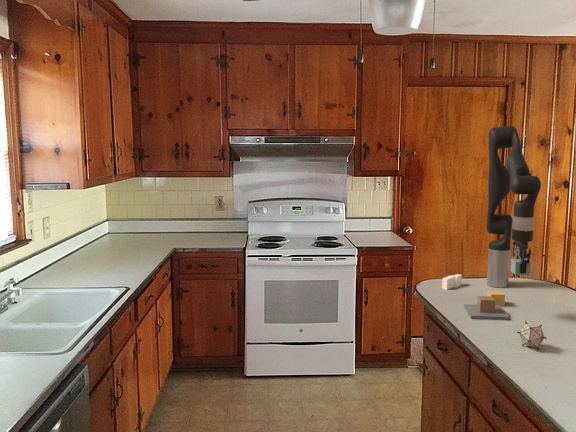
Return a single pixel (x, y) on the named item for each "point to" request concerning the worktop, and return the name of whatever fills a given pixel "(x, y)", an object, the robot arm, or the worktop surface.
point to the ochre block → (498, 297)
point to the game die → (532, 335)
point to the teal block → (516, 267)
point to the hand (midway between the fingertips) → (520, 270)
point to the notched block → (451, 281)
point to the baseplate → (485, 315)
